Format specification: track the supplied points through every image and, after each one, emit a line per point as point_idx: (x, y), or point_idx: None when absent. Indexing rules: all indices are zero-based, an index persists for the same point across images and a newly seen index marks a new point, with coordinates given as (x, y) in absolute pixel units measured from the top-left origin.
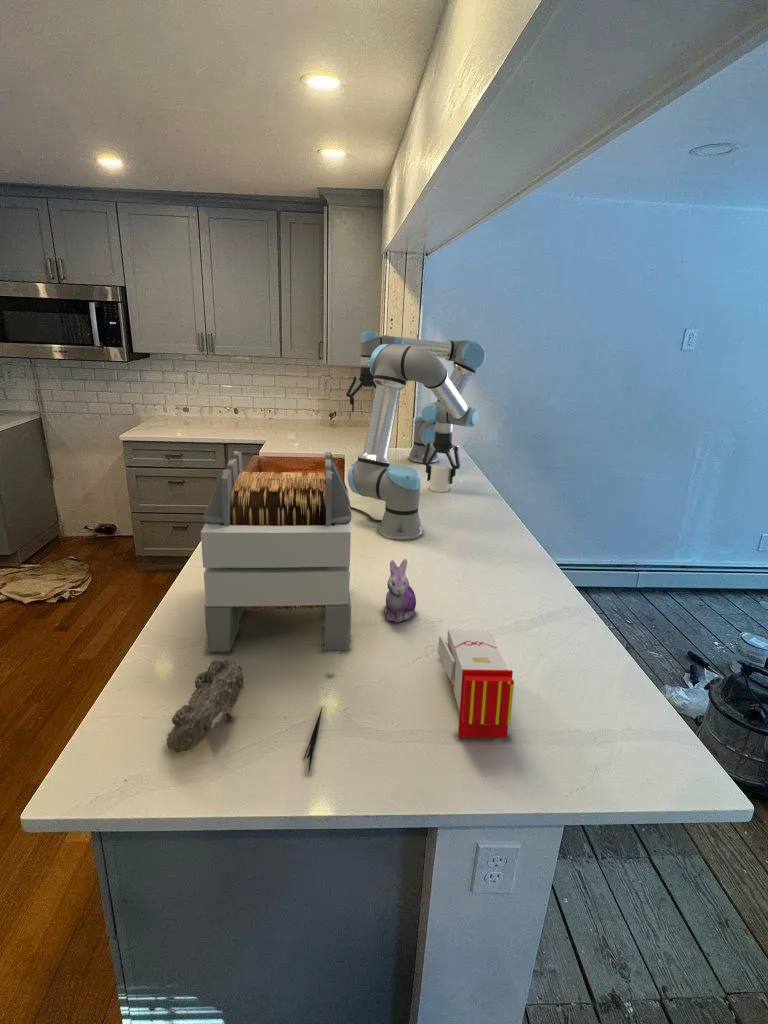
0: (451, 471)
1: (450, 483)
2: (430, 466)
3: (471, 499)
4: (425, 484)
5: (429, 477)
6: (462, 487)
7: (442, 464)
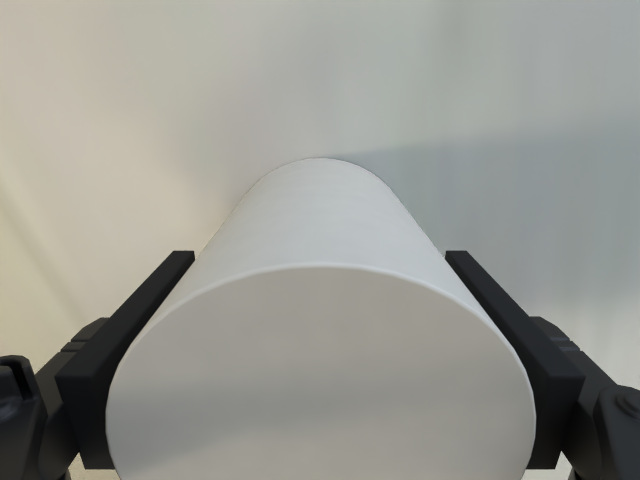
0: None
1: None
2: None
3: (610, 375)
4: (145, 153)
5: None
6: (544, 68)
7: (315, 332)
